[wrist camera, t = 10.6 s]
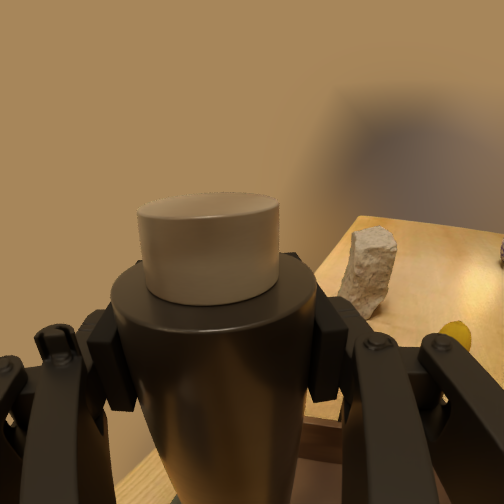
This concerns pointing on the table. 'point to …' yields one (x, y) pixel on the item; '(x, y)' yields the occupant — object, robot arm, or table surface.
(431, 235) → the table surface
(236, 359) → the thermos bottle
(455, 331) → the lemon
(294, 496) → the drawer
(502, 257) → the teapot
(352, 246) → the decorative stone
